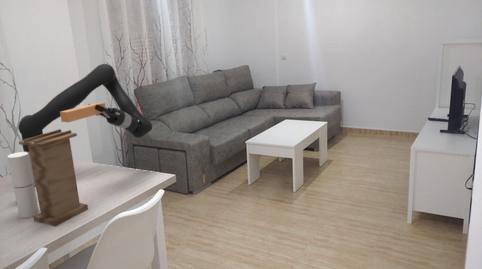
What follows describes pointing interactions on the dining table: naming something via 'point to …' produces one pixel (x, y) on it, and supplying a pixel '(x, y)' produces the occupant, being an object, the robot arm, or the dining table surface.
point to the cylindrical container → (23, 184)
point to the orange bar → (80, 112)
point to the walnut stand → (54, 177)
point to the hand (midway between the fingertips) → (92, 106)
